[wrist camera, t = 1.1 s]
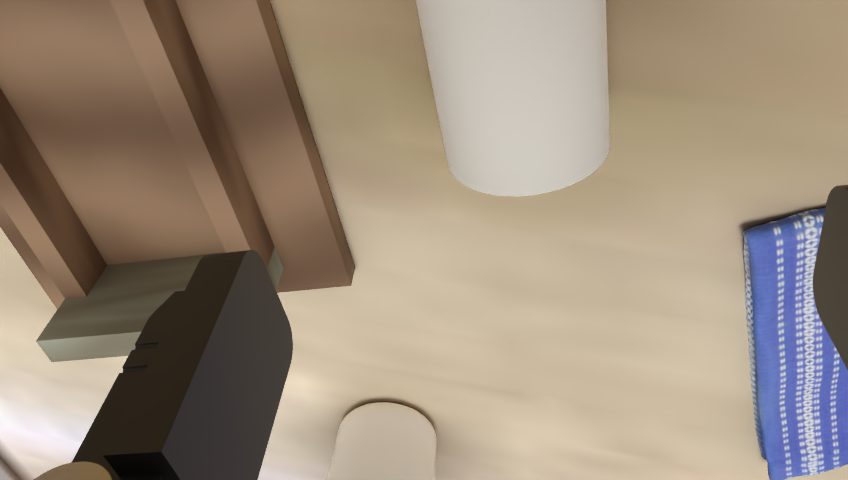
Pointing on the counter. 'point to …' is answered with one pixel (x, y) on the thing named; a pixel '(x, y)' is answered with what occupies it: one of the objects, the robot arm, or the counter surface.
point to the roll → (519, 90)
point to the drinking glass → (384, 445)
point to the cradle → (154, 159)
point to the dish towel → (792, 352)
